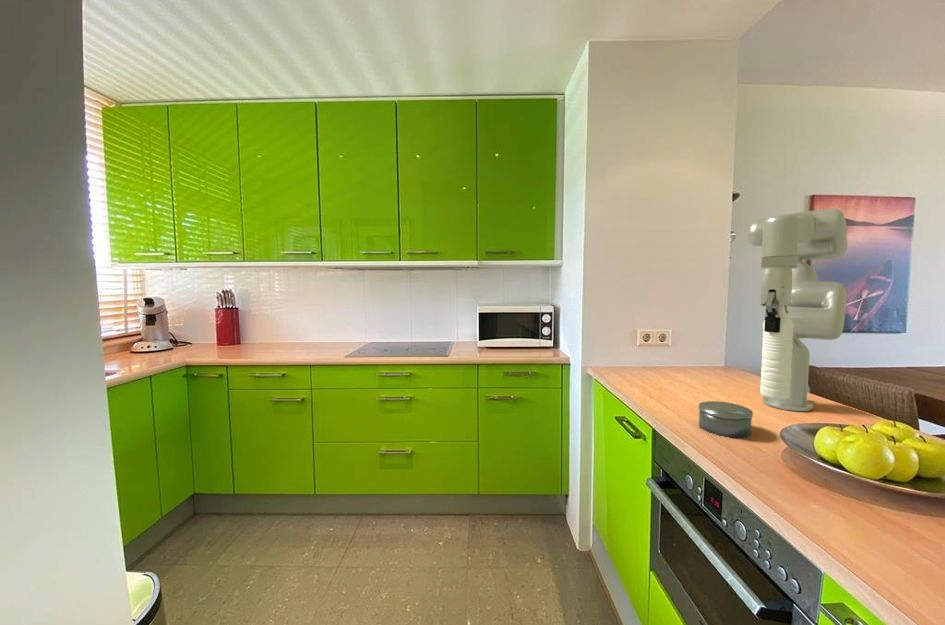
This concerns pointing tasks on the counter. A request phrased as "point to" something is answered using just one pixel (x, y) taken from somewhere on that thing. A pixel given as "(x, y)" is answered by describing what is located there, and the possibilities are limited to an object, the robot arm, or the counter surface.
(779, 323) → the robot arm
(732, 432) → the cake tin
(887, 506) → the counter surface
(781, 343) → the water bottle
